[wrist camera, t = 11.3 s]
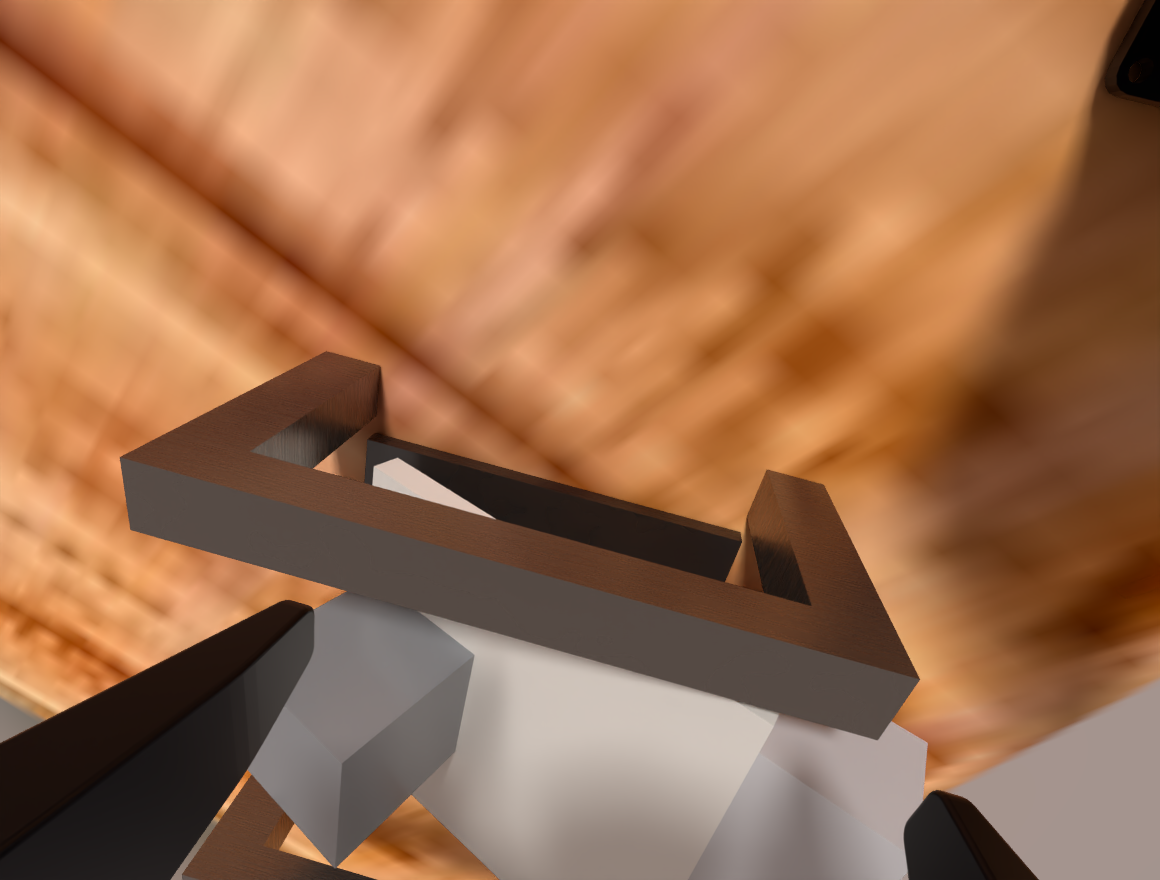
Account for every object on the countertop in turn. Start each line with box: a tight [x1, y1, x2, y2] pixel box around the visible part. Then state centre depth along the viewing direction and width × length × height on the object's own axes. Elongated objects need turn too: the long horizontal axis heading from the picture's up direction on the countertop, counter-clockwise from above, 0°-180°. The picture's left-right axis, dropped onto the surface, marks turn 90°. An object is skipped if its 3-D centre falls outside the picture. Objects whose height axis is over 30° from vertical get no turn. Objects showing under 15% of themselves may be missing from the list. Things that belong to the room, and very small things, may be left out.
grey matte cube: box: [247, 591, 475, 868], centre depth 19 cm, size 5×5×5 cm
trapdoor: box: [372, 458, 928, 880], centre depth 20 cm, size 18×14×5 cm
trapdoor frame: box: [120, 351, 920, 880], centre depth 20 cm, size 18×19×8 cm
